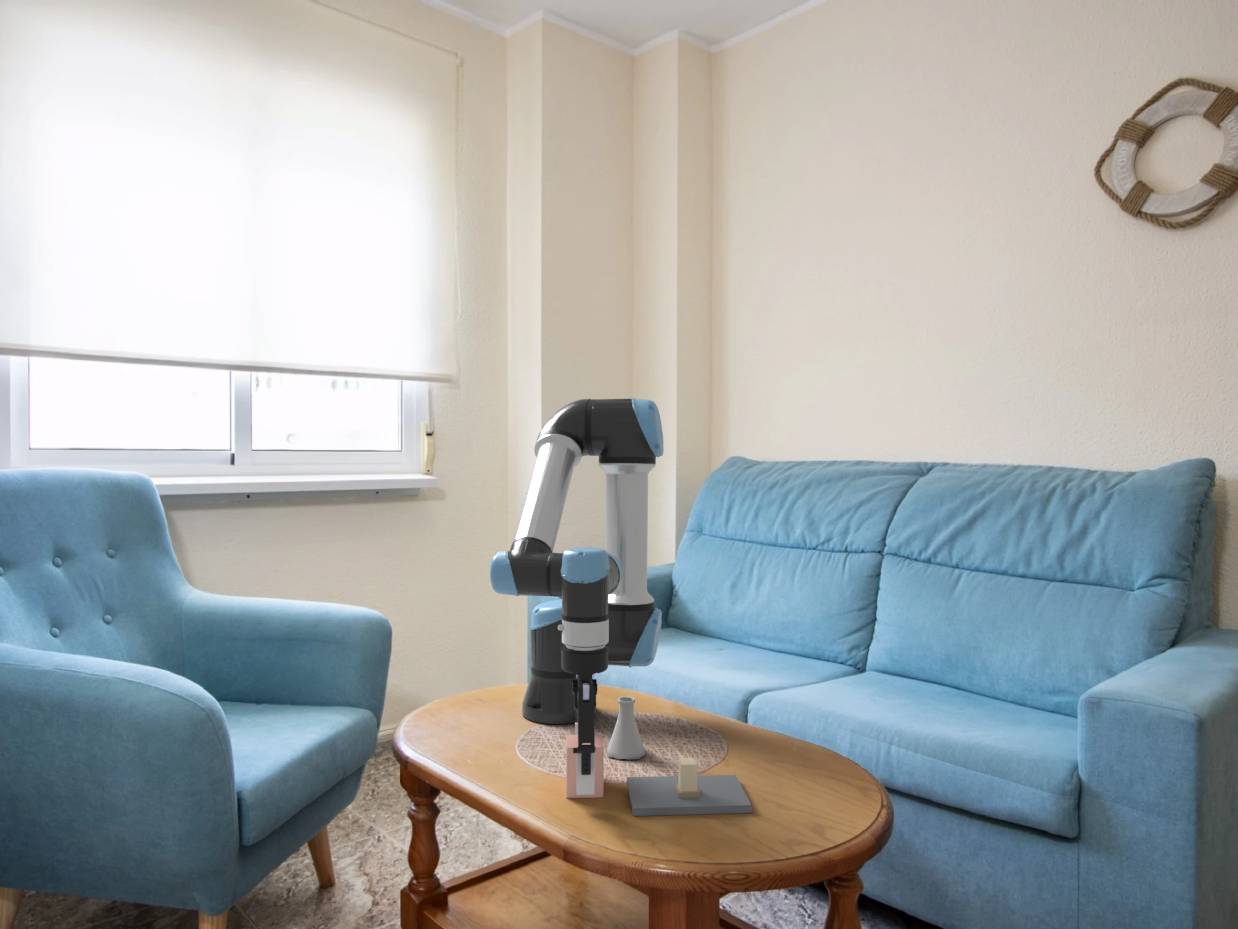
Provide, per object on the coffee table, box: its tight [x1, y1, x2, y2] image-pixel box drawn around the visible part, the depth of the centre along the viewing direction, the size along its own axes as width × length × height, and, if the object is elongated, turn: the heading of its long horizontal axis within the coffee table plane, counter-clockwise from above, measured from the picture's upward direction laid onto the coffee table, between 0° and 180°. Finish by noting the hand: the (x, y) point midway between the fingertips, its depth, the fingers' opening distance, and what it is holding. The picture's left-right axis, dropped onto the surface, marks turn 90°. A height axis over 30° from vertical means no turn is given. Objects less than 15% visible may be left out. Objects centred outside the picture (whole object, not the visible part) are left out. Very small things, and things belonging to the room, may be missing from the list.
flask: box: [606, 696, 647, 760], centre depth 157 cm, size 7×7×10 cm
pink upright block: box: [565, 734, 605, 799], centre depth 140 cm, size 6×6×8 cm
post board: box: [626, 757, 753, 817], centre depth 137 cm, size 12×18×6 cm, turn 94°
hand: (584, 777), depth 140 cm, fingers open, 13 cm apart
